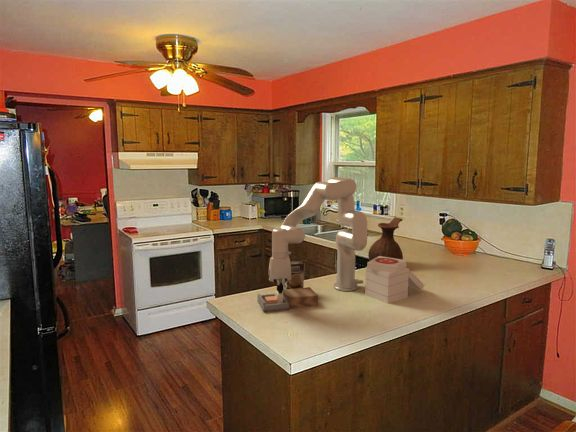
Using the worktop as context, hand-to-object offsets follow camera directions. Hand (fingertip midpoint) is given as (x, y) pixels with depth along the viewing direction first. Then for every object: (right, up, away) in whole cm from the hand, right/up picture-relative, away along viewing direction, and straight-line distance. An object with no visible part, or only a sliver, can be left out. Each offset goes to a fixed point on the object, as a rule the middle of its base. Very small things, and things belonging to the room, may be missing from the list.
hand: (280, 292), depth 195 cm
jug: (+66, +4, +66) cm, 93 cm away
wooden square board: (+10, -6, +4) cm, 12 cm away
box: (-3, -6, 0) cm, 7 cm away
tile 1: (-4, -3, -1) cm, 5 cm away
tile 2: (+1, -3, +1) cm, 3 cm away
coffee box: (+7, -4, +17) cm, 19 cm away
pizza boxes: (+58, -4, +16) cm, 60 cm away
